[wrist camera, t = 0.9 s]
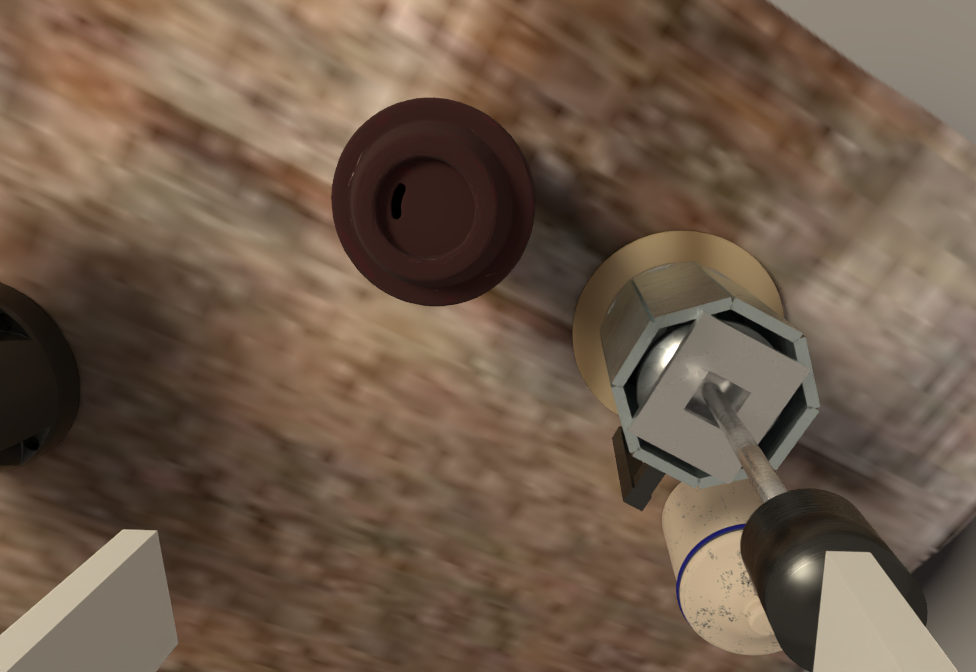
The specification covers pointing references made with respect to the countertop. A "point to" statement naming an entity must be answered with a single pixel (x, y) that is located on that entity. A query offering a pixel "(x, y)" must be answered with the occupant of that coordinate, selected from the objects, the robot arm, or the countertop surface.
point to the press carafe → (700, 378)
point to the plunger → (782, 516)
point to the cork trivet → (639, 259)
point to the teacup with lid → (716, 566)
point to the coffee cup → (433, 201)
